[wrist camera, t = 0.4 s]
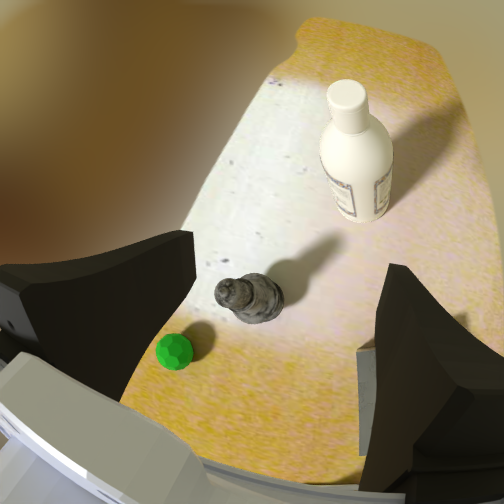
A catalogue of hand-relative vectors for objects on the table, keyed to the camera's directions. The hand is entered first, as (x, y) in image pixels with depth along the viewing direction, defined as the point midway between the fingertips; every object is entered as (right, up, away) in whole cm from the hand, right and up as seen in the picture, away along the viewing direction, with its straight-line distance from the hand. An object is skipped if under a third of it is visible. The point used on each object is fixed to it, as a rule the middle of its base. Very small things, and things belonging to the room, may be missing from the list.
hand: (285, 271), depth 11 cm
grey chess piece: (0, -5, +28) cm, 29 cm away
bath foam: (+13, +7, +26) cm, 30 cm away
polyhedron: (-10, -13, +31) cm, 35 cm away
